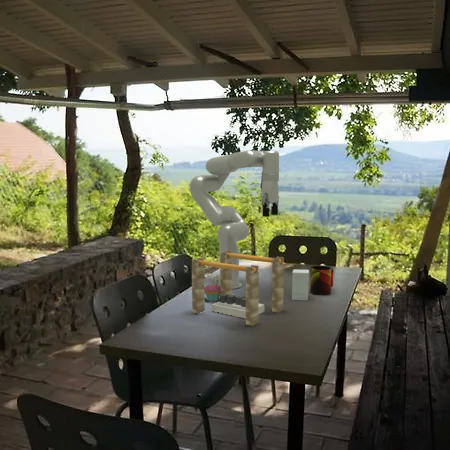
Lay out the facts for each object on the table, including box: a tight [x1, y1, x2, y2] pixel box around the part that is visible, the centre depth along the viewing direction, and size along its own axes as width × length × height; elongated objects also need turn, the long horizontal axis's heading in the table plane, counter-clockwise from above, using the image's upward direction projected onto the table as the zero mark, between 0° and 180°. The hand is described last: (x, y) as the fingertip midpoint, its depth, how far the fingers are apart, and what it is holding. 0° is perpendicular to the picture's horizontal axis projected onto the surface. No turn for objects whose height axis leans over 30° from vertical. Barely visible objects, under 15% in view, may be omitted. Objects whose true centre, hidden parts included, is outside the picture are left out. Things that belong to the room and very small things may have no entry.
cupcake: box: [204, 274, 221, 302], centre depth 221 cm, size 9×8×12 cm
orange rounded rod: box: [199, 260, 256, 273], centre depth 194 cm, size 29×2×2 cm, turn 55°
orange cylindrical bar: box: [227, 253, 282, 264], centre depth 210 cm, size 29×2×2 cm, turn 55°
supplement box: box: [291, 268, 310, 301], centre depth 224 cm, size 7×7×13 cm
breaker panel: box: [211, 294, 265, 319], centre depth 204 cm, size 18×12×6 cm, turn 55°
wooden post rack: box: [191, 251, 285, 327], centre depth 203 cm, size 29×24×22 cm
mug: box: [309, 265, 334, 296], centre depth 235 cm, size 10×14×12 cm
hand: (270, 215), depth 227 cm, fingers open, 9 cm apart
